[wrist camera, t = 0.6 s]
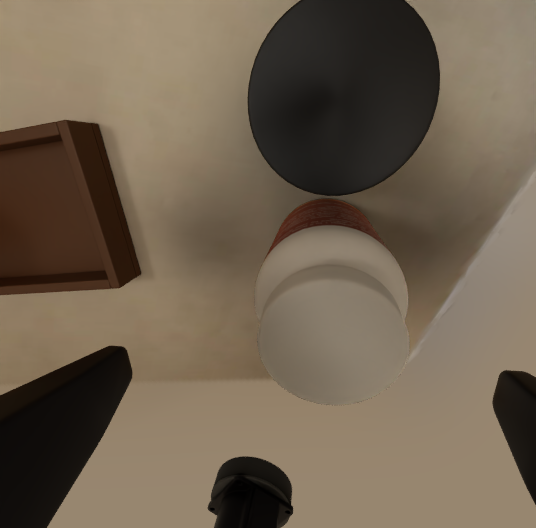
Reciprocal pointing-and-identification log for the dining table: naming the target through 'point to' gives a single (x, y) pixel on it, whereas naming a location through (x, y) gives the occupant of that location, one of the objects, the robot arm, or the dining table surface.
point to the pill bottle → (331, 306)
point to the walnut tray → (60, 212)
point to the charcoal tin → (343, 93)
